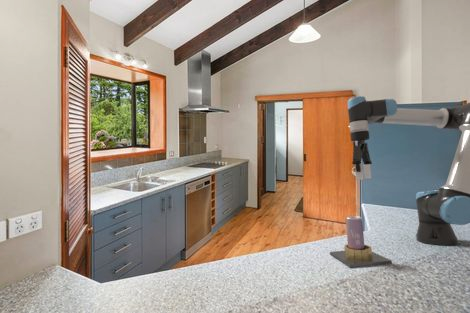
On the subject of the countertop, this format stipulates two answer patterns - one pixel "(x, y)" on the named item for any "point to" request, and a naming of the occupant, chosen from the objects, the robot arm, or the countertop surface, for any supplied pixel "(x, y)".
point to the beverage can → (355, 233)
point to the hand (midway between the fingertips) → (364, 179)
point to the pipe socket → (360, 257)
